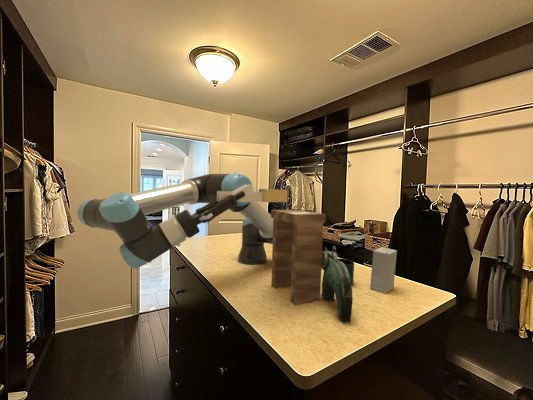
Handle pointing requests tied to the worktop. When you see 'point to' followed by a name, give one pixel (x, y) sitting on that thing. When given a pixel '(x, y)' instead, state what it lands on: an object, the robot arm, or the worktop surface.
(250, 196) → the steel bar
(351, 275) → the mug
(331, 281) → the dark green curved figure
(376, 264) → the skincare box
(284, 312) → the worktop surface
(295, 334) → the worktop surface
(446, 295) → the worktop surface
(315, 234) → the walnut shelf
